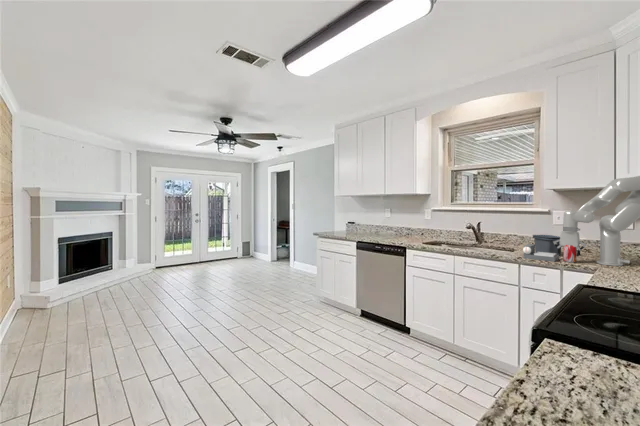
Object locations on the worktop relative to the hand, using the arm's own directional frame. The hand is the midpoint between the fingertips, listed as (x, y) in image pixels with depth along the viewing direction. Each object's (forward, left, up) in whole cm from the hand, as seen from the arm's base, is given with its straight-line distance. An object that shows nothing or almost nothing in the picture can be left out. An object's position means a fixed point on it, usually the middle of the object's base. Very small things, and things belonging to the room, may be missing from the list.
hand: (568, 255), depth 207 cm
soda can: (-1, 0, -5) cm, 5 cm away
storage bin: (+15, -25, -5) cm, 30 cm away
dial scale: (+15, -1, -5) cm, 16 cm away
